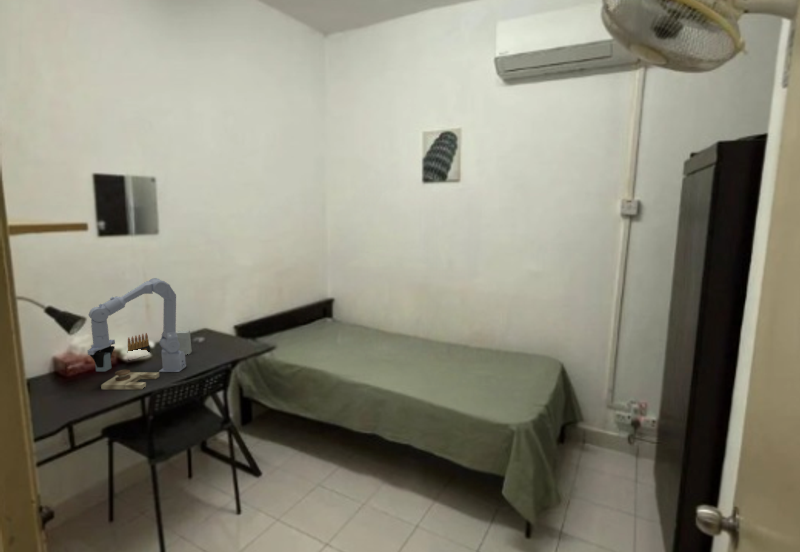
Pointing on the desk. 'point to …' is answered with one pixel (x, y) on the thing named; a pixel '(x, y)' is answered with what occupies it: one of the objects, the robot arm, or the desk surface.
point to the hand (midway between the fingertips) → (103, 365)
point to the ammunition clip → (139, 343)
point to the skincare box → (184, 341)
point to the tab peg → (105, 363)
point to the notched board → (129, 380)
